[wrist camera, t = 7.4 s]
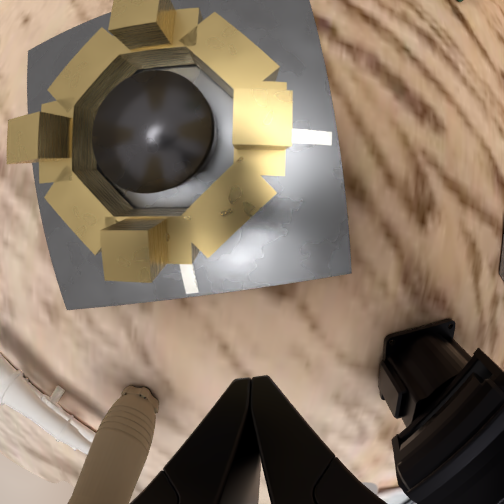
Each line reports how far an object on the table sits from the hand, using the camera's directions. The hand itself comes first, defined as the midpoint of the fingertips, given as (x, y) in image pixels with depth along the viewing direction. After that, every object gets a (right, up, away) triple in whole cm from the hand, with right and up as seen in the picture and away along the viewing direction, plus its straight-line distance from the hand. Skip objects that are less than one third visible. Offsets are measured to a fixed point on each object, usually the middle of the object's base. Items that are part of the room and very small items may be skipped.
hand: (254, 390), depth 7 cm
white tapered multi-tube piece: (-19, -10, +16) cm, 27 cm away
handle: (-9, -9, +16) cm, 20 cm away
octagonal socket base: (-5, +10, +9) cm, 15 cm away
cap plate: (-5, +10, +11) cm, 16 cm away
